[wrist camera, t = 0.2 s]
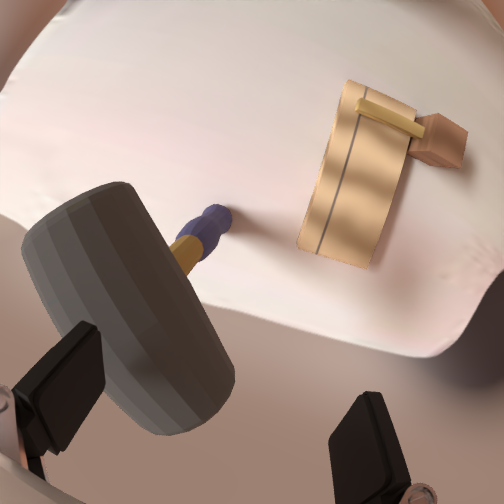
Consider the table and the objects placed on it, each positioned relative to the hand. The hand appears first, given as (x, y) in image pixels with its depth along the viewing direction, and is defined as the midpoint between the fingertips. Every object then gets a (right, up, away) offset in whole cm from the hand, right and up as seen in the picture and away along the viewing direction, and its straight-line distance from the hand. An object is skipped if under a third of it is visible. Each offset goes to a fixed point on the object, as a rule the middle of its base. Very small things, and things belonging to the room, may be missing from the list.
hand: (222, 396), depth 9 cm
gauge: (+20, +22, +24) cm, 38 cm away
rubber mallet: (-3, +10, +30) cm, 32 cm away
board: (+15, +15, +26) cm, 34 cm away
